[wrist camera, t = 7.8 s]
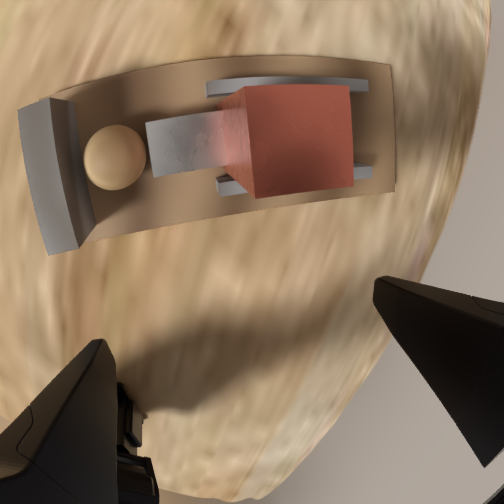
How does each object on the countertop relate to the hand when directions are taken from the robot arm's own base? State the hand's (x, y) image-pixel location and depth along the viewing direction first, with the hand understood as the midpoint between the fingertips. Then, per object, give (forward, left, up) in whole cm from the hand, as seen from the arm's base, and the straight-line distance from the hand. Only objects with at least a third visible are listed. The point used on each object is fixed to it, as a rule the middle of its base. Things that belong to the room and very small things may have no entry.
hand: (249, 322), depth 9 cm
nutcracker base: (+2, +5, -12) cm, 14 cm away
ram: (+1, +5, -11) cm, 12 cm away
